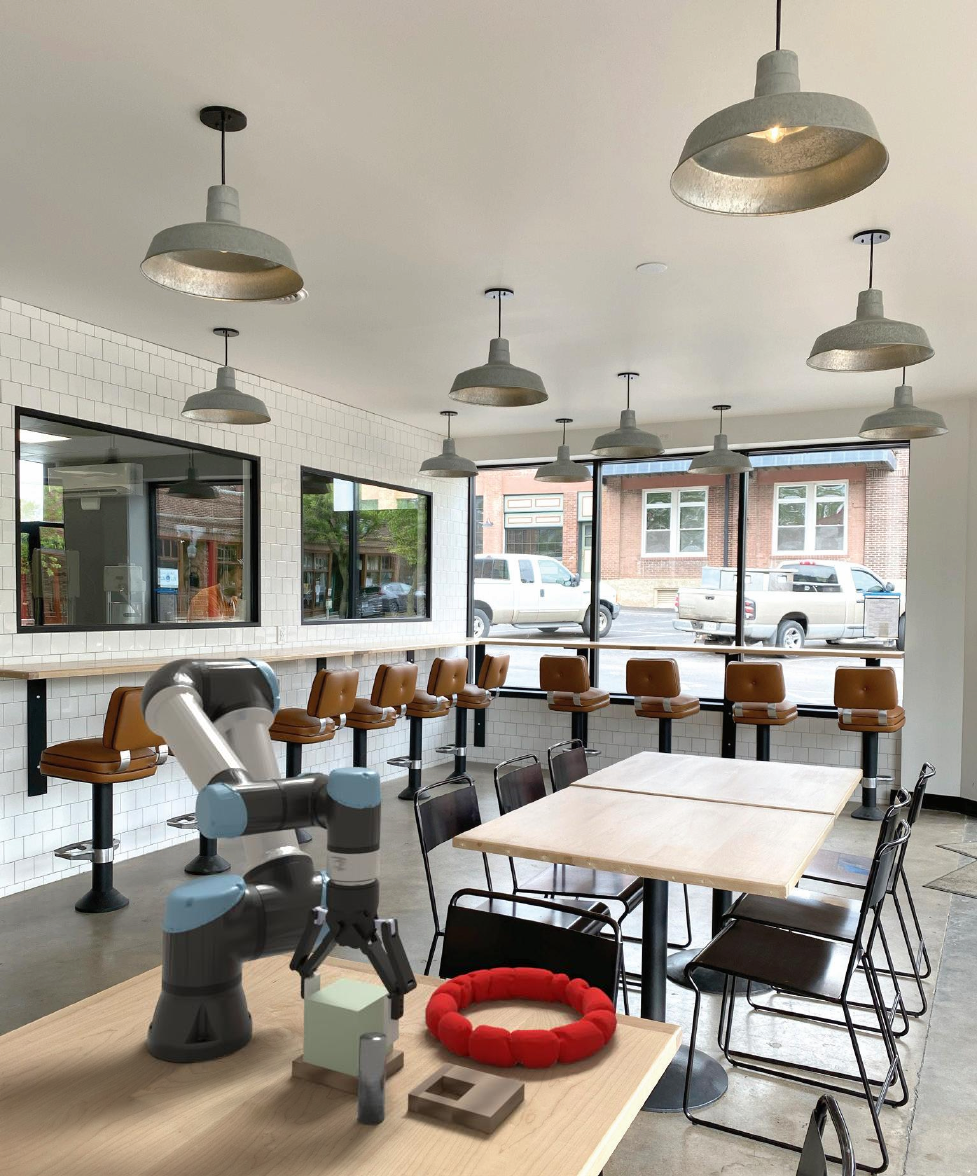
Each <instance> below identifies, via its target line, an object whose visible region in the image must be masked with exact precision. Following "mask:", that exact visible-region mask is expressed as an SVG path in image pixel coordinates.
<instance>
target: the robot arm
mask: <svg viewBox="0 0 977 1176" xmlns="http://www.w3.org/2000/svg"><path fill="white" fill-rule="evenodd" d="M280 688H281V687H280V684H279V680H278V678H277V675H276V673H275V671H274V670H273V668H272V667H271V666H270V665H269V664H268V663H267V662H265V661H264V660H261V659H258V658H247V657H244V656H243V657H242V656H241V657H237V658H192V657H191V658H188V657H187V658H179V659H176V660H173V661H170V662H168V663H166V664H164V665H162V666H161V667H159V668H158V669H157V670H155V671H154V672H153V673H152V674H151V675H150V677H149V678H148V680H147V681H146V682H145V684H144V686H143V688H142V690H141V694H140V700H139V708H140V714H141V715H142V719H143V720H144V723H145V724H146V726H147V727H148V729H149V730H150V731H151V732H152V733H153V734H155V735H156V736H159V737H162V738H163V740H164V742H165V743H166V745H167V746H168V747H169V749H170V751H171V753H172V754H173V756H174V757H175V759H176V761H177V762H178V764H179V765H180V766H181V768H182V769H183V771H184V773H185V774H186V775H187V778H188V779H189V781H190V782H191V783H192V785H193V787H194V788H195V790H196V791H197V793H198V794H197V796H196V801H195V808H194V809H195V820H196V821H197V828H198V830H199V832H200V833H201V835H203V836H204V837H205V838H207V839H212V840H213V839H235V838H238V837H239V838H240V837H241V839H242V845H243V849H244V852H245V853H244V854H245V857H246V861H247V868H246V869H245V871H244V872H243V874H242V876H240V875H238V874H234V873H233V874H232V873H222V874H219V875H217V874H209V875H205V876H201V877H200V876H199V877H197V878H193V879H190V880H188V881H186V882H183V883H181V884H179V885H178V886H176V887H175V888H174V889H172V891H170V892H169V893H168V895H167V897H166V899H165V901H164V902H165V903H164V911H163V912H164V913H163V919H162V921H161V925H162V926H161V928H162V956H161V957H162V960H161V964H162V965H161V989H160V990H161V991H160V995H159V997H158V1000H157V1003H156V1005H155V1009H154V1013H153V1016H152V1020H151V1022H150V1024H149V1025H148V1029H147V1034H146V1035H147V1039H146V1040H147V1041H146V1048H147V1051H148V1052H149V1053H150V1054H151V1055H152V1056H154V1057H156V1058H158V1059H159V1060H163V1061H168V1062H173V1063H198V1062H199V1063H200V1062H207V1061H212V1060H217V1059H220V1058H223V1057H226V1056H228V1055H232V1054H234V1053H236V1052H238V1051H240V1050H241V1049H243V1048H244V1047H246V1046H247V1045H248V1044H249V1042H251V1040H252V1038H253V1024H254V1022H253V1017H252V1015H251V1013H250V1011H249V1009H248V1002H247V999H246V994H245V990H244V987H243V965H244V963H247V962H252V961H256V960H261V959H266V958H271V957H275V956H276V957H277V956H280V955H284V954H289V953H293V952H294V953H293V955H292V958H291V960H290V962H289V964H288V967H289V969H290V970H291V971H292V972H294V971H296V972H297V973H298V974H299V977H300V997H301V1000H303V1008H304V1007H305V998H307V997H308V996H310V995H312V994H314V993H316V992H318V991H320V990H321V973H317V971H319V967H320V966H321V964H322V963H323V962H324V961H325V959H326V958H327V957H328V956H329V954H330V953H331V952H332V951H333V950H334V948H335V947H336V946H337V944H338V946H339V947H348V948H351V949H354V950H358V949H359V950H360V952H361V953H362V954H363V955H365V956H366V957H367V959H368V961H369V962H370V964H371V966H372V967H373V969H374V971H375V972H376V973H377V976H378V978H379V979H380V981H381V983H382V984H383V987H385V988H386V989H387V991H388V993H389V994H387V995H385V996H384V1028H383V1034H385V1035H386V1046H389V1045H390V1044H392V1043H393V1044H394V1043H395V1042H396V1041H398V1040H399V1038H400V1036H399V1035H400V1031H399V1030H400V1027H399V1026H400V1019H401V1018H402V1017H403V1016H404V1012H405V1010H404V1009H405V1008H404V1007H405V1006H404V1005H405V995H406V994H409V993H410V992H412V991H413V990H415V989H417V987H418V983H417V979H416V977H415V975H414V972H413V969H412V967H411V964H410V961H409V959H408V956H407V954H406V951H405V948H404V946H403V945H404V944H403V942H402V940H401V939H402V938H401V937H400V935H399V924H398V920H397V917H391V918H389V919H382V918H381V919H380V918H379V916H378V915H379V914H378V909H379V908H378V907H379V904H380V881H379V879H378V877H379V876H380V875H381V874H380V873H381V845H380V843H381V820H382V816H381V815H382V801H383V795H382V791H381V776H380V773H379V772H378V770H376V769H374V768H371V767H361V766H360V767H359V766H358V767H357V766H355V767H354V766H351V767H350V766H348V767H338V768H335V769H332V770H331V771H330V772H329V774H325V773H323V772H319V771H317V772H307V771H306V772H301V773H299V774H298V775H296V776H293V777H285V778H284V777H283V778H282V777H281V773H280V770H279V766H278V763H277V757H276V754H275V749H274V746H273V743H272V739H271V736H270V735H271V734H270V731H269V729H270V728H271V726H272V725H273V723H274V721H275V717H276V715H277V714H278V712H279V709H280V704H281V697H280V696H279V695H280V693H281V690H280ZM306 828H321V829H323V830H326V871H325V870H322V869H317V870H316V868H315V866H314V861H313V858H312V856H311V855H310V854H308V853H306V852H304V851H302V850H301V849H300V845H299V841H298V838H297V835H296V830H299V829H306ZM377 931H378V933H377ZM380 936H381V938H380ZM370 942H371V943H370ZM369 943H370V944H369ZM383 946H384V947H383ZM315 947H317V948H316V949H315V950H314V951H313V949H314V948H315ZM311 953H312V954H311Z"/></svg>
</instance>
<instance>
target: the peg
mask: <svg viewBox="0 0 977 1176" xmlns="http://www.w3.org/2000/svg"><path fill="white" fill-rule="evenodd" d="M385 1074H386V1035H385V1034H383V1033H380V1032H368V1033H364V1034H362V1035H361V1036H360V1043H359V1082H358V1095H357V1121H358V1122H359V1123H360V1124H362V1125H366V1126H373V1125H377V1124H380V1123H383V1121H384V1120H385V1113H386V1112H385V1110H386V1109H385V1107H386V1106H385V1105H386V1103H385V1102H386V1080H385Z"/></svg>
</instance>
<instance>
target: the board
mask: <svg viewBox="0 0 977 1176" xmlns="http://www.w3.org/2000/svg"><path fill="white" fill-rule="evenodd" d="M404 1061H405V1051H404V1050H399V1049H395V1048H393V1051H392V1052H390V1053H389V1054H388V1055H386V1074H385V1081H386V1080H387V1079H388V1078H390V1077H391V1076H392V1075H394V1074H395V1073H396V1072H398V1071H399V1070H400V1069H401V1068H403V1067H404V1064H405V1062H404ZM291 1076H292V1077H295V1078H300V1079H303V1080H306V1081H310V1082H313V1083H316V1084H319V1085H323V1086H327V1087H330V1088H333V1089H336V1090H340V1091H344V1092H348V1093H350V1094H354V1095H357V1096H358V1082H359V1075H358V1076H357V1077H355V1076H352V1075H348V1074H345V1073H341V1072H338V1071H334V1070H331V1069H327V1068H324V1067H320V1066H317V1065H313V1064H310V1063H306V1062H303V1053H302V1054H301V1055H299V1056H297V1057H296V1058H294V1059H292V1060H291Z"/></svg>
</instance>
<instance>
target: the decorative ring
mask: <svg viewBox="0 0 977 1176" xmlns="http://www.w3.org/2000/svg"><path fill="white" fill-rule="evenodd" d="M518 998H519V999H521V998H522V999H525V1000H530V1001H531V1000H532V1001H539V1002H545V1003H551V1004H552V1003H555V1004H556V1003H559V1002H561V1003H562V1004H563V1005H566V1006H569V1007H572V1009H573V1010H574V1011H576V1013H578V1014H579V1015H580V1016H581V1017H582V1018H580V1020H578V1021H574V1022H571V1023H567V1024H565V1025H560V1026H556V1027H554V1028H550V1029H549V1030H548V1029H542V1028H541V1029H538V1028H537V1029H516V1030H512V1031H510V1030H508V1029H506V1028H503V1027H496V1026H492V1025H487V1024H480V1025H478V1026H476V1027H475V1028H474V1027H473V1024H472V1022H471V1021H470V1020H469V1019H468V1018H466V1017H465V1016H463V1015H462V1014H460V1013H458V1011H462V1010H465V1009H466V1008H467V1007H468V1006H470V1005H471V1004H473V1003H475V1004H480V1003H483V1001H485V1002H491V1001H493V1002H494V1001H500V1000H502V1001H503V1000H513V999H518ZM424 1012H425V1013H424V1017H425V1018H424V1019H425V1024H426V1027H427V1030H428V1031H429V1033H430V1034H431V1036H432V1037H434V1039H436V1040H437V1041H439V1042H441V1043H442V1044H443V1046H444V1047H445V1048H446V1049H447V1050H449V1051H450V1052H451V1053H454V1055H456V1056H459V1057H462V1058H472V1059H473V1060H474V1061H476V1062H477V1063H480V1064H484V1065H488V1066H489V1065H490V1066H494V1067H501V1068H512V1067H514V1066H516V1065H517V1063H520V1064H521V1065H522V1066H524V1067H525V1068H528V1069H542V1068H543V1069H545V1068H550V1067H552V1066H554V1065H555V1064H556V1063H560V1064H564V1065H569V1064H572V1063H577V1062H579V1061H582V1060H584V1059H587V1058H589V1057H591V1056H593V1055H595V1054H597V1053H598V1052H600V1051H601V1050H603V1048H604V1046H606V1045H607V1044H609V1043H610V1041H611V1040H612V1038H613V1036H614V1035H615V1033H616V1029H617V1023H618V1020H617V1017H616V1008H615V1006H614V1004H613V1002H612V1000H611V999H610V998H609V996H608V995H607V994H606V993H605V992H604V991H602V989H600V988H598V987H590V985H589V983H588V982H587V981H585V979H582V978H574V979H572V980H570V978H569V976H568V975H566V974H565V973H555V974H554V973H553V972H552V971H550V970H547V969H545V968H544V969H542V968H535V967H514V968H513V967H512V968H511V967H495V968H490V969H480V970H475V971H471V972H468V973H467V974H461V975H458V976H456V977H453V978H450V979H449V980H448V981H446V982H445V983H443V984H441V985H439V986H438V987H437V988H436V989H435V990H434V992H433V993H432V994H431V996H430V998H429V1000H428V1002H427V1004H426V1007H425V1010H424ZM473 1028H474V1029H473Z"/></svg>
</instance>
